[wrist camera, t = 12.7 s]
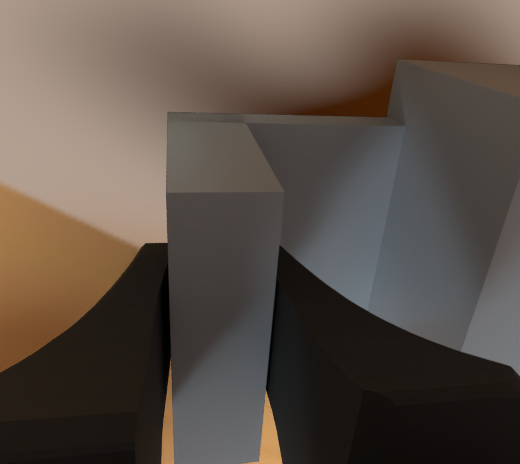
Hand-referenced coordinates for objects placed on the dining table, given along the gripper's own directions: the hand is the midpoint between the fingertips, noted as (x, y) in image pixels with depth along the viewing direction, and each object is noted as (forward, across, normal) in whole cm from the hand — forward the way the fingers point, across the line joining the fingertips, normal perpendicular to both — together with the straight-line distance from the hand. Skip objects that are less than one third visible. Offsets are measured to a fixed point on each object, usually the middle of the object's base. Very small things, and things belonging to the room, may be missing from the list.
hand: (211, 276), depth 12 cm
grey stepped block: (+3, -7, 0) cm, 8 cm away
